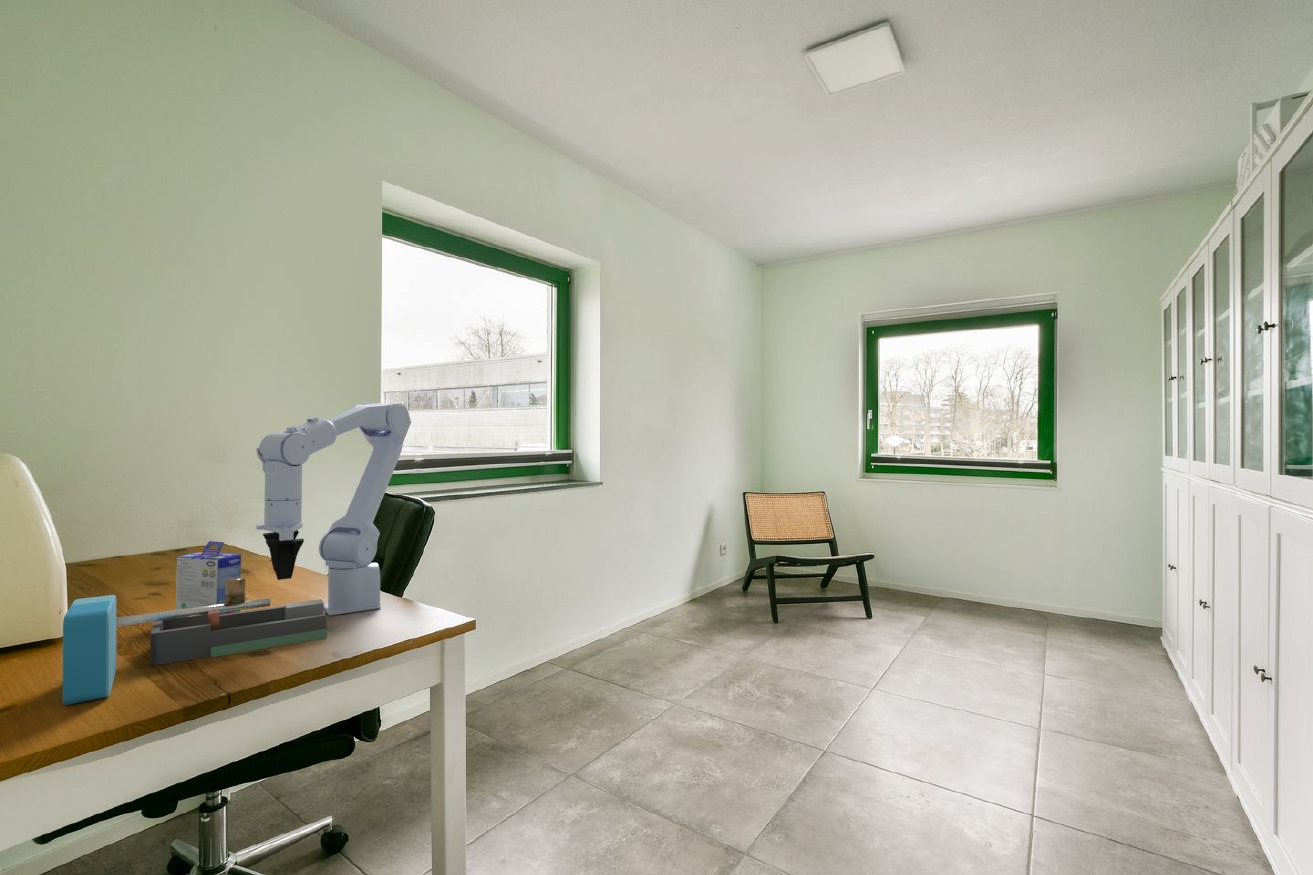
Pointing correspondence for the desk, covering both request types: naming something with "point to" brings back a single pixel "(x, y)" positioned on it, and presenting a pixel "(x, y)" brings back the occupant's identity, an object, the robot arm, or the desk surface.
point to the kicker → (232, 603)
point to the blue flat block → (89, 649)
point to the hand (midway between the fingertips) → (282, 574)
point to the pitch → (237, 632)
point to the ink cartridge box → (205, 577)
